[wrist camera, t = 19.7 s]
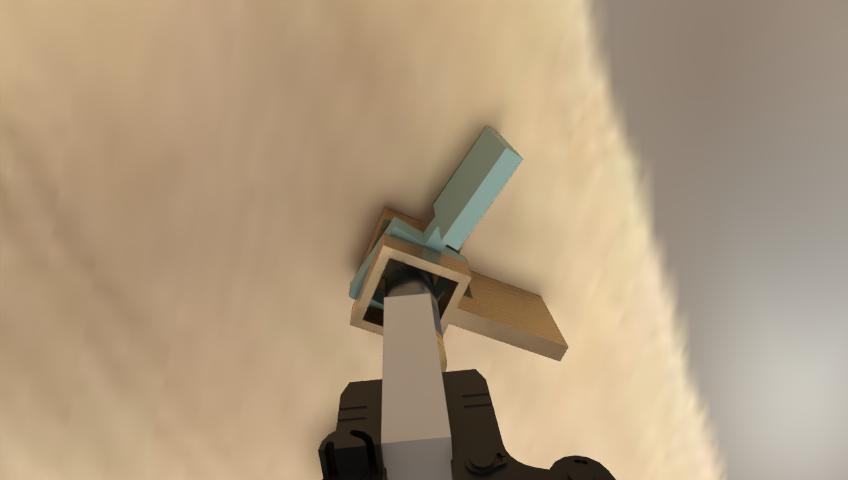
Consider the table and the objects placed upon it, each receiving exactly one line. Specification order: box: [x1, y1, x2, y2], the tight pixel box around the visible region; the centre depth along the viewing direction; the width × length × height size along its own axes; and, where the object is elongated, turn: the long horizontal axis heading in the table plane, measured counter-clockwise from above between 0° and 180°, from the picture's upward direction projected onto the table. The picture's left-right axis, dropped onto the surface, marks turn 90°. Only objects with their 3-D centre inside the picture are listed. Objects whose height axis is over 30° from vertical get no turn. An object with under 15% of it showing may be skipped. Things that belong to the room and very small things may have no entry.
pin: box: [385, 258, 447, 372], centre depth 34 cm, size 3×3×14 cm
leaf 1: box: [349, 126, 523, 310], centre depth 36 cm, size 14×6×7 cm, turn 147°
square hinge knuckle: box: [350, 208, 568, 361], centre depth 38 cm, size 14×6×7 cm, turn 67°
